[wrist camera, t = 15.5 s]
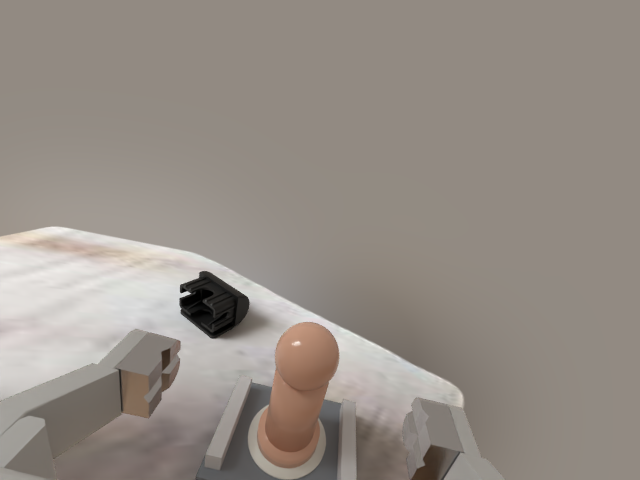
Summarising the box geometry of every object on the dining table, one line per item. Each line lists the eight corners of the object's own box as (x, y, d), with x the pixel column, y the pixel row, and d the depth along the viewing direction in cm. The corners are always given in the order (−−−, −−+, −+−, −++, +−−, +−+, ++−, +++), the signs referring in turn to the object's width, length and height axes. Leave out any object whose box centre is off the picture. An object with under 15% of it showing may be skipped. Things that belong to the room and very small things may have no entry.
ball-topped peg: (264, 477, 31) (289, 363, 25) (251, 414, 37) (269, 309, 31) (326, 457, 34) (362, 351, 28) (305, 402, 40) (331, 305, 34)
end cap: (247, 322, 55) (252, 290, 52) (214, 341, 49) (217, 307, 46) (211, 296, 59) (213, 266, 57) (177, 311, 54) (178, 278, 51)
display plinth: (194, 488, 31) (196, 464, 29) (236, 390, 42) (239, 368, 40) (350, 526, 30) (361, 503, 29) (351, 416, 42) (358, 396, 40)
